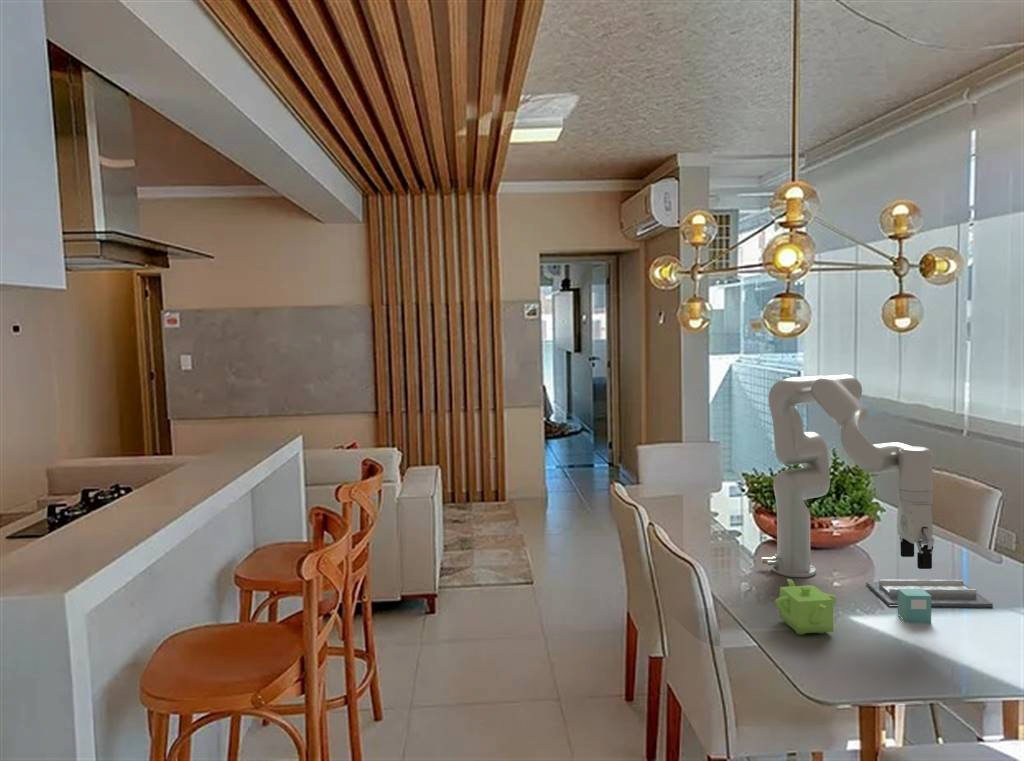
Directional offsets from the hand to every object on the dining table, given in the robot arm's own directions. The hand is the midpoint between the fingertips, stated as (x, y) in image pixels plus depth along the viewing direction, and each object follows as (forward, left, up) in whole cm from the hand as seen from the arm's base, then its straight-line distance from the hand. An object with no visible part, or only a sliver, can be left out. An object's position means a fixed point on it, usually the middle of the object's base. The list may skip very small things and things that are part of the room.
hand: (915, 562), depth 184 cm
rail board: (+10, +16, -15) cm, 24 cm away
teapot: (-29, -6, -15) cm, 33 cm away
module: (0, 0, -15) cm, 15 cm away
